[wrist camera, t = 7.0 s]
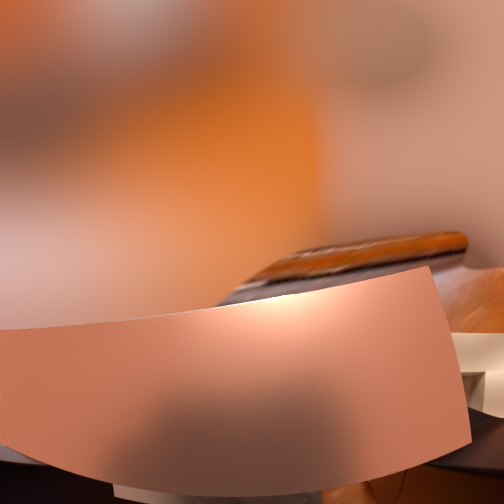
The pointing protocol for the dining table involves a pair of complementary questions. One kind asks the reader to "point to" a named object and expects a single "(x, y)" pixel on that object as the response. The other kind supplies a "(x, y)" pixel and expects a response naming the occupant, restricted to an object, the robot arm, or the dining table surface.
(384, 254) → the dining table surface
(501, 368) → the slot block
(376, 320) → the t key
